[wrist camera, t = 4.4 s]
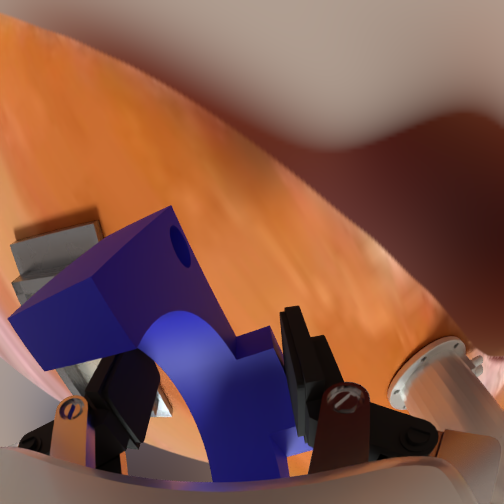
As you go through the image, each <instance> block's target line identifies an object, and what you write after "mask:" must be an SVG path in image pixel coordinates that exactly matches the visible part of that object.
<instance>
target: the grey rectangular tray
mask: <svg viewBox="0 0 504 504" xmlns="http://www.w3.org/2000/svg"><path fill="white" fill-rule="evenodd" d="M102 239H104V238H103V234H102V230H101V226H100V222H99V220H96V221H92V222H87V223H83V224H79V225H75V226H71V227H67V228H63V229H59V230H55V231H51V232H47V233H43V234H40V235H36V236H32V237H29V238H25V239H22V240H18V241H15V242H14V243H12V244H11V245H10V247H11V250H12V253H13V256H14V259H15V262H16V265H17V267H18V270H19V273H20V276H19V277H18V278H16V279H15V280H14V281H13V282H12V285H13V288H14V290H15V293H16V295H17V297H18V300H19V302H20V304H21V306H22V305H23V304H24V303H25V302H26V301H27V300H28V299H29V298H31V297H32V296H33V295H34V294H35V293H36V292H37V291H38V290H40V289H41V288H42V287H43V286H44V285H45V284H47V283H48V282H49V281H50V280H51V279H53V278H54V277H55V276H56V275H57V274H59V273H60V272H61V271H62V270H64V269H65V268H66V267H67V266H68V265H70V264H71V263H72V262H74V261H75V260H76V259H77V258H79V257H80V256H81V255H83V254H84V253H85V252H86V251H88V250H89V249H90V248H92V247H93V246H94V245H96V244H97V243H98V242H100V241H101V240H102ZM101 359H102V358H100V359H96V360H92V361H88V362H84V363H79V364H75V365H71V366H66V367H62V368H58V369H56V371H57V372H58V374H59V375H60V377H61V378H62V380H63V381H64V383H65V384H66V386H67V387H68V389H69V390H70V392H71V393H72V394H73V395H79V396H82V397H84V395H85V389H86V387H87V385H88V383H89V381H90V379H91V377H92V375H93V373H94V372H95V370H96V368H97V366H98V364H99V362H100V361H101ZM172 413H173V409H172V408H171V406H170V404H169V402H168V400H167V398H166V396H165V394H164V392H163V390H162V388H161V386H160V384H159V387H158V390H157V394H156V398H155V401H154V405H153V409H152V412H151V416H150V417H172Z"/></svg>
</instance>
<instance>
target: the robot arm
mask: <svg viewBox="0 0 504 504" xmlns="http://www.w3.org/2000/svg"><path fill="white" fill-rule="evenodd" d="M280 324H281V335H282V347H283V359H284V368H285V373H286V378H287V384H288V389H289V394H290V399H291V404H292V409H293V415H294V420H295V425H296V430H297V435H298V437H301V436H304V441H305V444H306V443H308V446H310V447H312V448H313V452H312V457H311V462H310V466H309V471H308V475H301V476H294V477H287V478H279V479H270V480H260V481H246V482H212V483H211V482H182V481H168V480H158V479H149V478H142V477H135V476H129V475H128V471H127V463H126V454H125V451H126V449H127V448H130V449H139V447H140V443H143V442H144V440H145V436H146V432H147V428H148V424H149V420H150V416H151V412H152V409H153V405H154V401H155V398H156V394H157V390H158V387H159V383H160V374H159V371H158V369H157V367H156V365H155V362H154V360H153V359H152V358H150V357H149V356H148V355H147V354H146V353H144V352H143V351H141V350H140V349H138V348H137V349H134V350H130V351H127V352H123V353H119V354H115V355H112V356H108V357H104V358H102V359H101V361H100V362H99V364H98V366H97V368H96V370H95V372H94V373H93V375H92V377H91V379H90V381H89V383H88V385H87V387H86V389H85V395H84V397H82V396H79V395H73V396H70V397H67V398H65V399H64V400H63V401H61V402H60V404H59V405H58V406H57V410H56V414H55V419H54V420H53V421H51V422H49V423H47V424H45V425H43V426H41V427H39V428H37V429H35V430H33V431H31V432H29V433H27V434H26V435H24V436H23V438H22V439H21V440H20V442H19V444H18V443H15V444H13V445H11V446H8V447H0V504H504V411H503V410H502V408H501V407H500V406H499V404H498V403H497V402H496V400H495V399H494V398H493V396H492V395H491V394H490V393H489V391H488V390H487V389H486V388H485V386H484V385H483V384H482V383H481V381H480V380H479V379H478V378H477V377H478V376H480V375H481V374H482V373H483V367H482V365H481V364H482V363H483V358H482V356H481V355H479V356H477V357H475V358H473V359H472V360H469V358H468V357H467V356H466V355H465V353H466V348H465V345H464V343H463V342H462V341H461V340H460V339H459V338H458V337H455V336H448V337H443V338H441V339H438V340H436V341H434V342H432V343H430V344H429V345H427V346H426V347H424V348H423V349H421V350H420V351H419V352H418V353H416V354H415V355H414V356H413V357H412V358H411V359H410V360H409V361H408V362H406V364H405V365H404V366H403V367H402V368H401V369H400V370H399V372H398V373H397V374H396V376H395V377H394V379H393V381H392V382H391V384H390V387H389V389H388V395H387V396H388V400H389V402H390V404H391V406H392V407H394V408H395V409H400V410H405V409H407V410H408V411H409V413H410V415H408V414H404V413H401V412H398V411H395V410H392V409H389V408H386V407H383V406H380V405H377V404H374V403H371V402H370V397H369V393H368V392H367V390H366V389H365V388H364V387H362V386H361V385H359V384H356V383H353V382H344V380H343V378H342V376H341V373H340V371H339V368H338V366H337V364H336V361H335V359H334V356H333V354H332V352H331V349H330V347H329V345H328V342H327V340H326V338H325V336H324V335H320V336H315V337H310V335H309V332H308V329H307V326H306V323H305V321H304V318H303V315H302V312H301V310H300V307H299V306H292V307H286V308H285V311H284V312H280Z"/></svg>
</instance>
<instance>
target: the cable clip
mask: <svg viewBox="0 0 504 504" xmlns="http://www.w3.org/2000/svg"><path fill="white" fill-rule="evenodd" d="M8 320H9V322H10V323H11V325H12V327H13V328H14V330H15V331H16V333H17V334H18V336H19V337H20V339H21V340H22V342H23V343H24V345H25V346H26V347H27V349H28V350H29V352H30V353H31V354H32V356H33V357H34V358H35V360H36V361H37V362H38V364H39V365H40V366H41V367H42V369H43V370H44V371H48V370H53V369H58V368H62V367H66V366H71V365H75V364H79V363H84V362H88V361H92V360H96V359H100V358H104V357H108V356H112V355H115V354H119V353H123V352H127V351H130V350H134V349H137V348H138V349H140V350H141V351H143V352H144V353H146V354H147V355H148V356H149V357H150V358H152V359H153V360H154V361H155V362H156V363H157V364H158V365H159V366H160V367H161V368H162V369H163V371H164V372H165V373H166V374H167V375H168V376H169V378H170V379H171V380H172V382H173V383H174V384H175V386H176V387H177V389H178V390H179V392H180V394H181V395H182V397H183V398H184V400H185V402H186V404H187V406H188V407H189V410H190V412H191V414H192V416H193V418H194V420H195V422H196V424H197V427H198V429H199V432H200V434H201V437H202V440H203V443H204V446H205V450H206V453H207V457H208V460H209V464H210V469H211V474H212V480H213V482H246V481H260V480H270V479H279V478H287V477H290V476H289V470H288V463H287V457H288V456H292V455H296V454H299V453H303V452H307V451H310V450H313V448H312V447H310V446H308V443H306V444H305V441H304V436H301V437H298V435H297V430H296V425H295V420H294V415H293V409H292V404H291V399H290V394H289V389H288V384H287V378H286V373H285V368H284V359H283V354H282V352H281V349H280V347H279V345H278V343H277V341H276V338H275V336H274V334H273V332H272V329H271V327H270V326H267V327H264V328H261V329H258V330H256V331H253V332H250V333H247V334H244V335H241V336H237V337H236V335H235V333H234V332H233V330H232V328H231V326H230V324H229V322H228V320H227V318H226V317H225V315H224V313H223V311H222V309H221V307H220V305H219V303H218V301H217V299H216V297H215V295H214V293H213V291H212V289H211V288H210V286H209V284H208V282H207V280H206V278H205V276H204V274H203V272H202V270H201V267H200V265H199V263H198V261H197V259H196V257H195V255H194V253H193V251H192V249H191V247H190V245H189V243H188V241H187V238H186V236H185V234H184V232H183V230H182V228H181V226H180V224H179V221H178V219H177V217H176V215H175V213H174V210H173V208H172V206H171V205H170V206H168V207H166V208H164V209H162V210H160V211H157V212H155V213H153V214H151V215H149V216H147V217H145V218H143V219H141V220H139V221H137V222H135V223H133V224H131V225H128V226H126V227H124V228H123V229H121V230H119V231H117V232H115V233H113V234H111V235H109V236H107V237H105V238H104V239H102V240H101V241H100V242H98V243H97V244H96V245H94V246H93V247H92V248H90V249H89V250H88V251H86V252H85V253H84V254H83V255H81V256H80V257H79V258H77V259H76V260H75V261H74V262H72V263H71V264H70V265H68V266H67V267H66V268H65V269H64V270H62V271H61V272H60V273H59V274H57V275H56V276H55V277H54V278H53V279H51V280H50V281H49V282H48V283H47V284H45V285H44V286H43V287H42V288H41V289H40V290H38V291H37V292H36V293H35V294H34V295H33V296H32V297H31V298H29V299H28V300H27V301H26V302H25V303H24V304H23V305H22V306H21V307H19V308H18V309H17V310H16V311H15V312H14V313H13V314H12V315H11V316H10V317H9V318H8Z"/></svg>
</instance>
